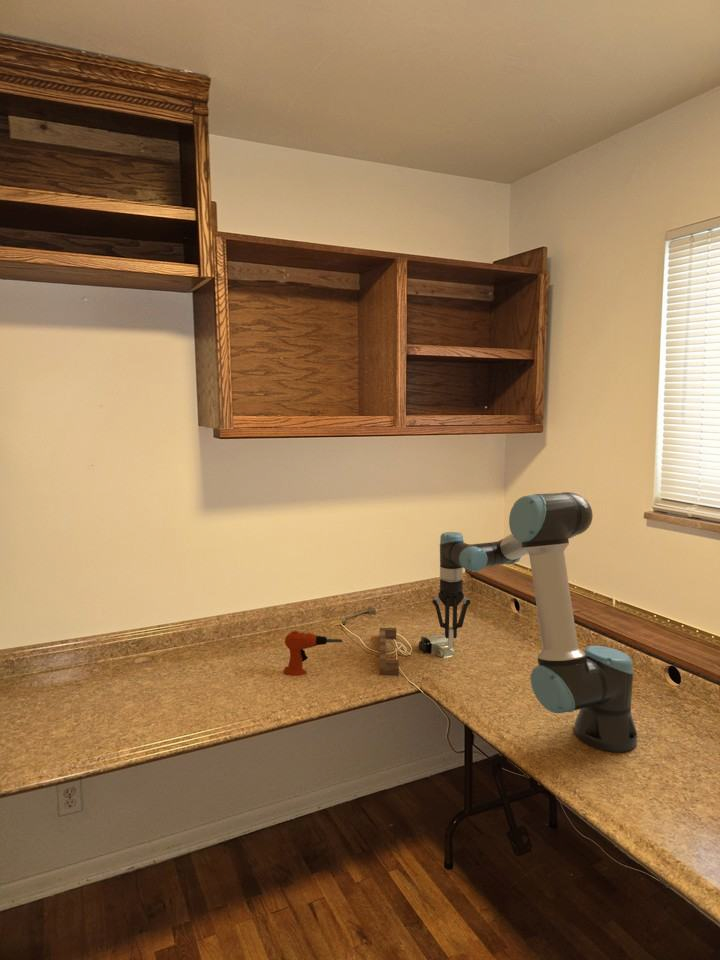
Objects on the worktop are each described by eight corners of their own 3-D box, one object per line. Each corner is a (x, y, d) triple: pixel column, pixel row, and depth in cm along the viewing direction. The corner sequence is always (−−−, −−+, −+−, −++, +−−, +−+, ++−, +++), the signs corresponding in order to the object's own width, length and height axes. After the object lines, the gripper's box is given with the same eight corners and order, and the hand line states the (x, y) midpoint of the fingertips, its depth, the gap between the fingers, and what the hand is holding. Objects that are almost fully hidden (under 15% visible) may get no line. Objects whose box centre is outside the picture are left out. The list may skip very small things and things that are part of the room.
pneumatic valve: (433, 663, 199) (415, 648, 209) (462, 658, 203) (443, 643, 214) (434, 648, 198) (416, 633, 208) (463, 643, 202) (444, 629, 213)
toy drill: (342, 681, 185) (341, 634, 183) (282, 679, 186) (281, 633, 185) (343, 674, 190) (343, 628, 188) (285, 673, 191) (284, 628, 189)
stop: (398, 677, 187) (398, 662, 187) (379, 677, 187) (379, 662, 187) (396, 641, 217) (396, 627, 216) (379, 640, 217) (379, 627, 217)
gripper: (469, 575, 202) (468, 642, 204) (430, 575, 202) (430, 642, 205) (472, 581, 194) (471, 651, 197) (432, 581, 195) (432, 651, 197)
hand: (450, 647), depth 201 cm, fingers closed
